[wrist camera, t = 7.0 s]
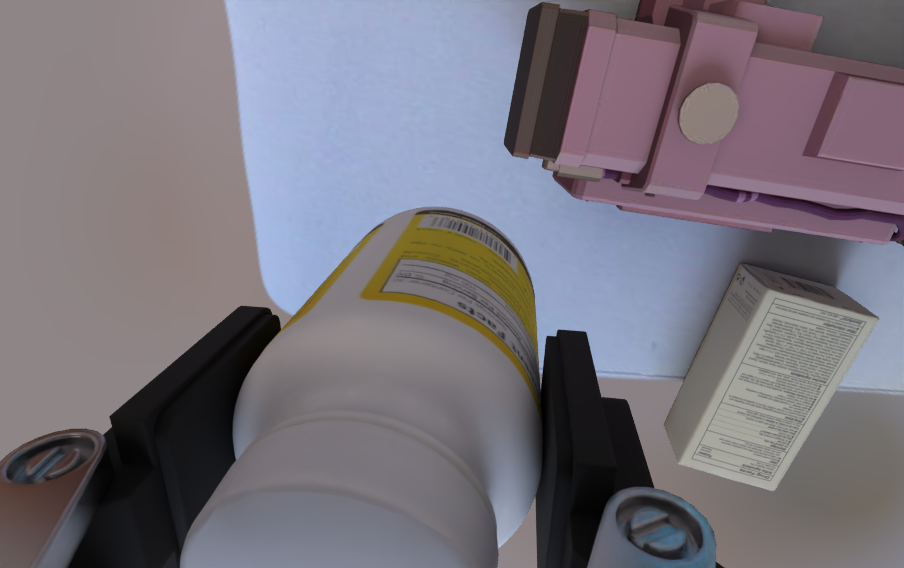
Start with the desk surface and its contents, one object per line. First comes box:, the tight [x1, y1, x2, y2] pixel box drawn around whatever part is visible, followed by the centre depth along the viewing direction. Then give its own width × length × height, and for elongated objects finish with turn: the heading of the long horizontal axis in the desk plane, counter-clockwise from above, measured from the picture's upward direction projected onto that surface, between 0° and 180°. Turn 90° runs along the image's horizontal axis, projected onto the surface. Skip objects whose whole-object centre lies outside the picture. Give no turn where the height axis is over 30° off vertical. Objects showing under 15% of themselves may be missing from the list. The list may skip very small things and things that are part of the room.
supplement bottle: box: [180, 207, 543, 568], centre depth 11 cm, size 5×5×10 cm
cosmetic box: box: [664, 264, 879, 491], centre depth 32 cm, size 6×4×12 cm
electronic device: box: [504, 0, 904, 246], centre depth 25 cm, size 11×27×10 cm, turn 81°
